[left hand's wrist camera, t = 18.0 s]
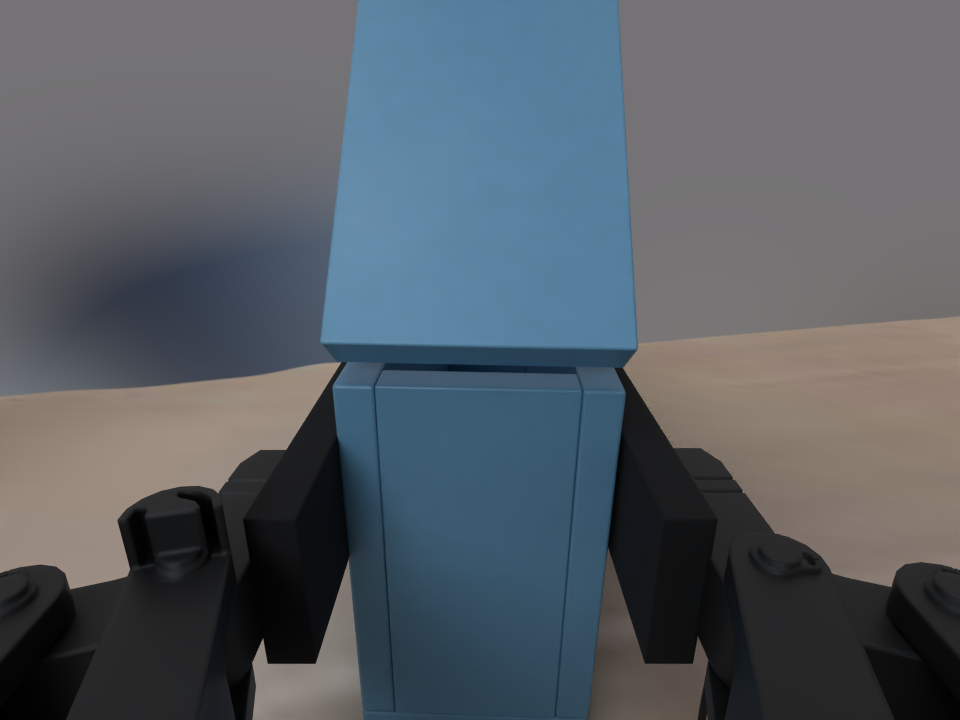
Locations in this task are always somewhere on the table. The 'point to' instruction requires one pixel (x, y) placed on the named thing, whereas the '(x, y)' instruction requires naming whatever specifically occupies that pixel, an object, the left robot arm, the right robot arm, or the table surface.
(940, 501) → the table surface
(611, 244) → the lid
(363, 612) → the chest
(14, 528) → the table surface
